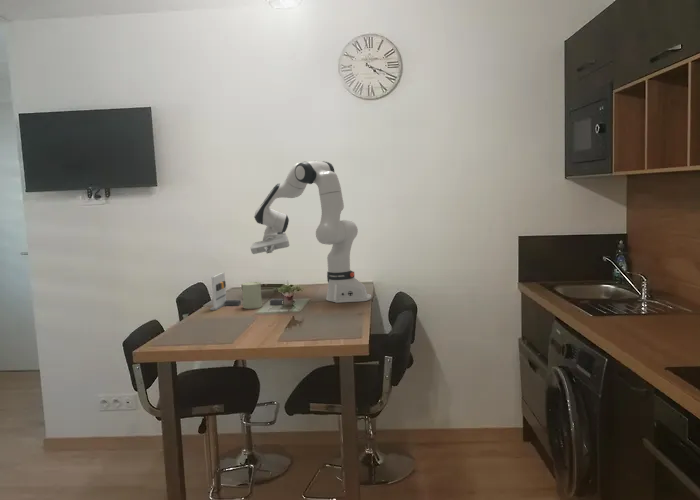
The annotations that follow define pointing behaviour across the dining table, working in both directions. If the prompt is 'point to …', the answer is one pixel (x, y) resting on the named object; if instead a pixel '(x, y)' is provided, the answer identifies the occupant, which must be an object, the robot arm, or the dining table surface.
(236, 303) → the cover
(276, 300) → the cover
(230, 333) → the dining table surface
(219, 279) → the panel
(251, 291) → the can
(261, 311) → the dining table surface
